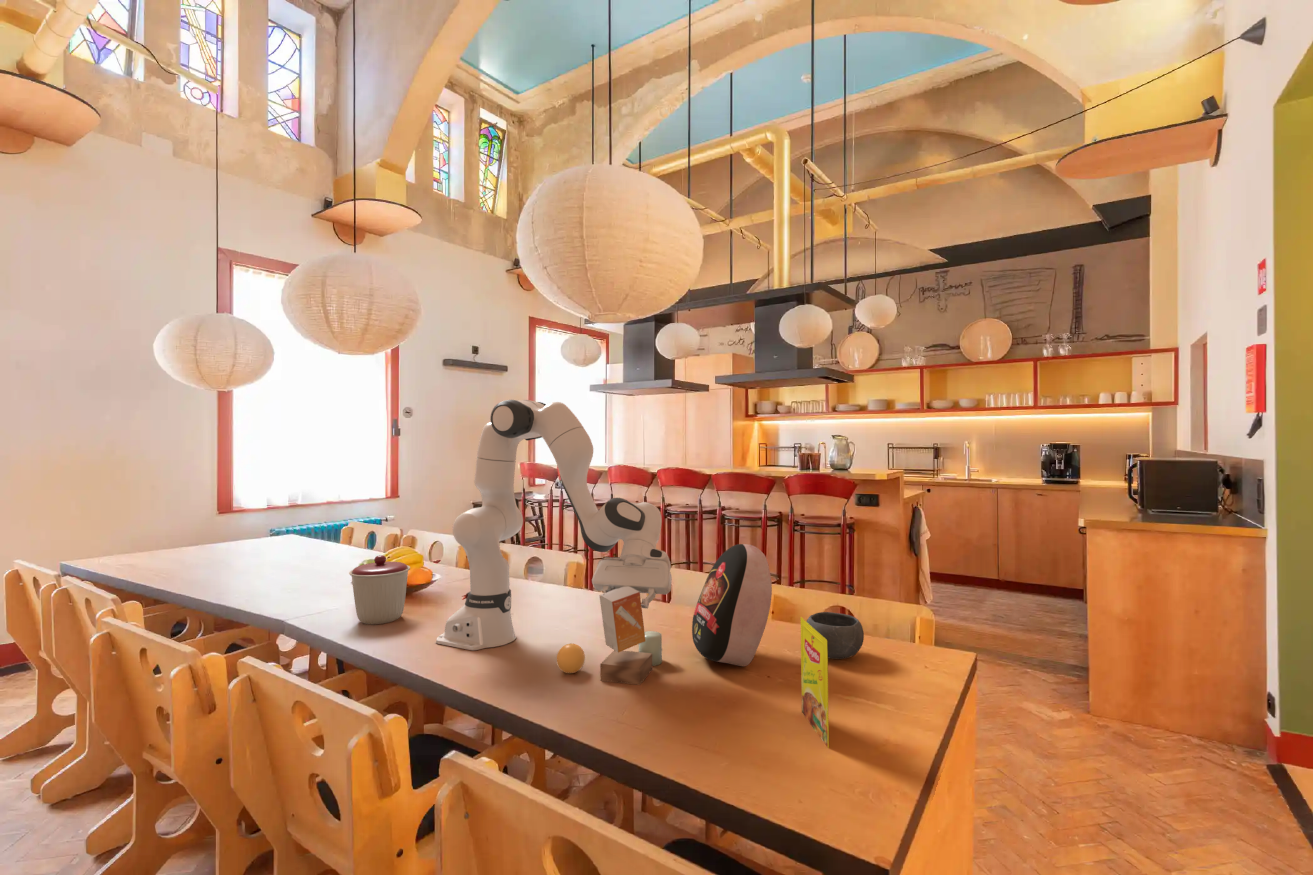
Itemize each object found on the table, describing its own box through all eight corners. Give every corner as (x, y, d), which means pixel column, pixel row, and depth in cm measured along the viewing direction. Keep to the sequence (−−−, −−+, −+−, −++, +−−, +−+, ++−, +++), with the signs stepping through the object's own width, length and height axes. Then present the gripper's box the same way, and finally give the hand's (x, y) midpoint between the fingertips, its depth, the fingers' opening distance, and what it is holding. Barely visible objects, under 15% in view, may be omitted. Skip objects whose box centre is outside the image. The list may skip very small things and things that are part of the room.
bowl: (867, 650, 164) (866, 613, 164) (860, 670, 150) (860, 629, 150) (811, 643, 170) (810, 608, 170) (800, 661, 156) (799, 622, 156)
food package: (799, 711, 127) (798, 616, 128) (804, 711, 127) (803, 616, 128) (825, 748, 112) (824, 640, 112) (831, 747, 112) (830, 639, 112)
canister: (396, 609, 210) (396, 548, 210) (420, 619, 198) (419, 554, 198) (341, 620, 197) (340, 555, 197) (362, 632, 185) (361, 563, 185)
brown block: (600, 680, 145) (600, 663, 145) (614, 665, 155) (614, 649, 155) (640, 684, 142) (640, 667, 142) (652, 669, 152) (652, 653, 152)
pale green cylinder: (635, 664, 155) (635, 637, 155) (642, 656, 161) (642, 630, 161) (658, 666, 154) (658, 639, 154) (664, 658, 159) (664, 632, 160)
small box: (618, 653, 144) (611, 601, 142) (605, 644, 149) (598, 594, 147) (646, 641, 148) (640, 590, 146) (633, 633, 153) (626, 584, 152)
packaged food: (683, 648, 167) (682, 539, 167) (749, 642, 172) (748, 536, 172) (709, 678, 146) (708, 553, 146) (784, 670, 150) (783, 549, 151)
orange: (551, 676, 148) (551, 647, 148) (564, 665, 155) (563, 638, 155) (578, 679, 146) (578, 649, 146) (589, 668, 153) (589, 640, 153)
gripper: (596, 549, 158) (582, 596, 149) (672, 552, 153) (662, 601, 143) (603, 563, 163) (589, 609, 153) (676, 566, 157) (667, 615, 148)
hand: (625, 605), depth 148 cm, fingers closed on small box, 8 cm apart
